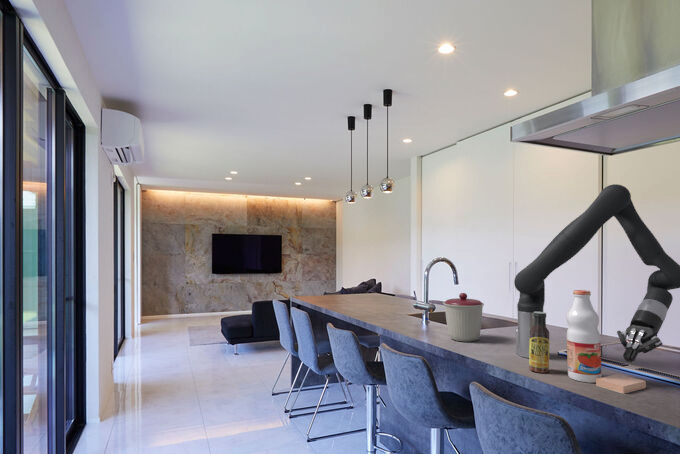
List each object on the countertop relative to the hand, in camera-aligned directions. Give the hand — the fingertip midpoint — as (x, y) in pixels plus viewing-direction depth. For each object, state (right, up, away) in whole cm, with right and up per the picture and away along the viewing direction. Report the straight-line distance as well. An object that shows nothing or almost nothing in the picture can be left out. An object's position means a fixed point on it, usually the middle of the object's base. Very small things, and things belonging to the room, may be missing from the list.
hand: (627, 360), depth 130 cm
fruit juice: (-10, -8, +6) cm, 14 cm away
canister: (-32, -11, +63) cm, 71 cm away
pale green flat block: (+1, -7, 0) cm, 7 cm away
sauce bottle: (-20, -8, +14) cm, 26 cm away
